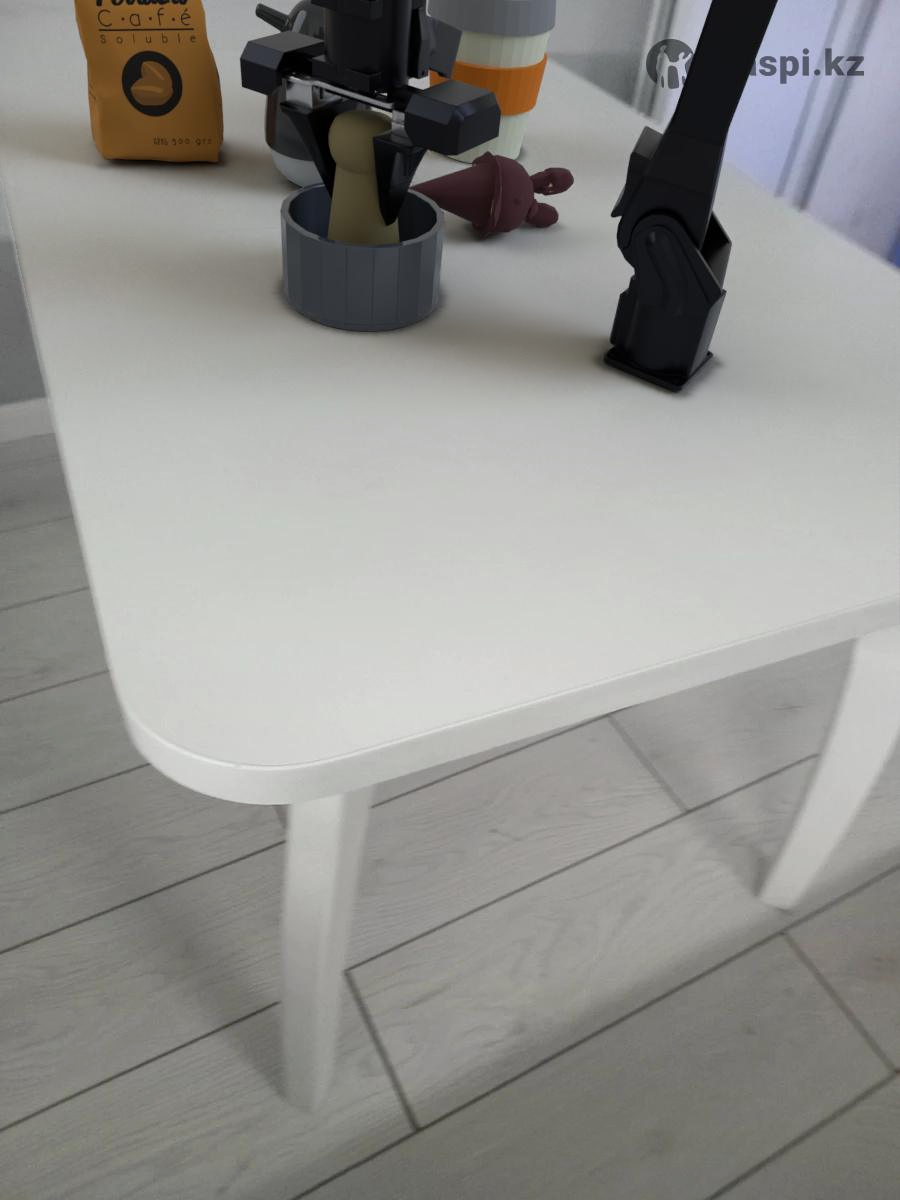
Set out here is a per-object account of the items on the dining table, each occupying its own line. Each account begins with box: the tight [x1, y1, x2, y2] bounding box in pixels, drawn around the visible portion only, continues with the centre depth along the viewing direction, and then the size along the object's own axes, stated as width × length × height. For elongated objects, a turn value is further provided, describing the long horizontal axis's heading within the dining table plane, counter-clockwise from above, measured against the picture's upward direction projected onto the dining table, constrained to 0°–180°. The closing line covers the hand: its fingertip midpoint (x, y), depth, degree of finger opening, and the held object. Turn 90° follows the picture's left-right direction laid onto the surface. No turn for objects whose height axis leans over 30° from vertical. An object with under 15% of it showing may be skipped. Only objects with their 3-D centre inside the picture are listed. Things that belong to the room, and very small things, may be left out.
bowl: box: [279, 182, 445, 332], centre depth 71 cm, size 12×12×6 cm
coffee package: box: [73, 0, 225, 163], centre depth 82 cm, size 10×12×22 cm
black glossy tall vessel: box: [254, 0, 374, 188], centre depth 83 cm, size 10×10×15 cm
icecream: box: [409, 151, 575, 239], centre depth 81 cm, size 7×7×15 cm
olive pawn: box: [327, 110, 399, 245], centre depth 68 cm, size 6×6×11 cm
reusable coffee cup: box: [426, 0, 557, 164], centre depth 93 cm, size 13×13×15 cm
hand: (364, 214), depth 69 cm, fingers closed on olive pawn, 4 cm apart
